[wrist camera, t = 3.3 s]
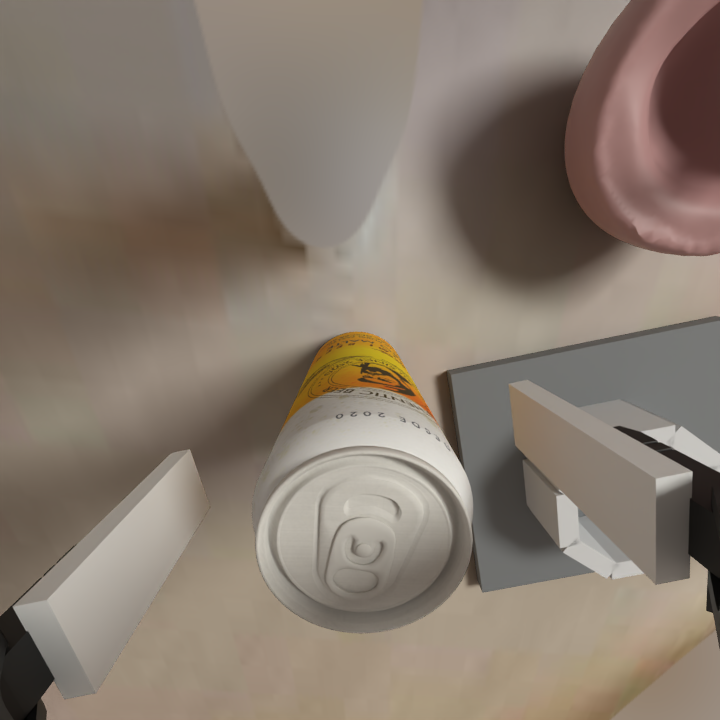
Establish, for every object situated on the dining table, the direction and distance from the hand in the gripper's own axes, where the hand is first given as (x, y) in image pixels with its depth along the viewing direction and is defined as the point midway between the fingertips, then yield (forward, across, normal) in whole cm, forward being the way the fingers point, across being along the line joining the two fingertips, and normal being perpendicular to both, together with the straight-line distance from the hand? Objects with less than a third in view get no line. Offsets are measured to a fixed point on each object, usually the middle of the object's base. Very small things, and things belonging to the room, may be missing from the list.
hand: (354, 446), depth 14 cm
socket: (+9, +15, -10) cm, 20 cm away
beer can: (+10, 0, 0) cm, 10 cm away
